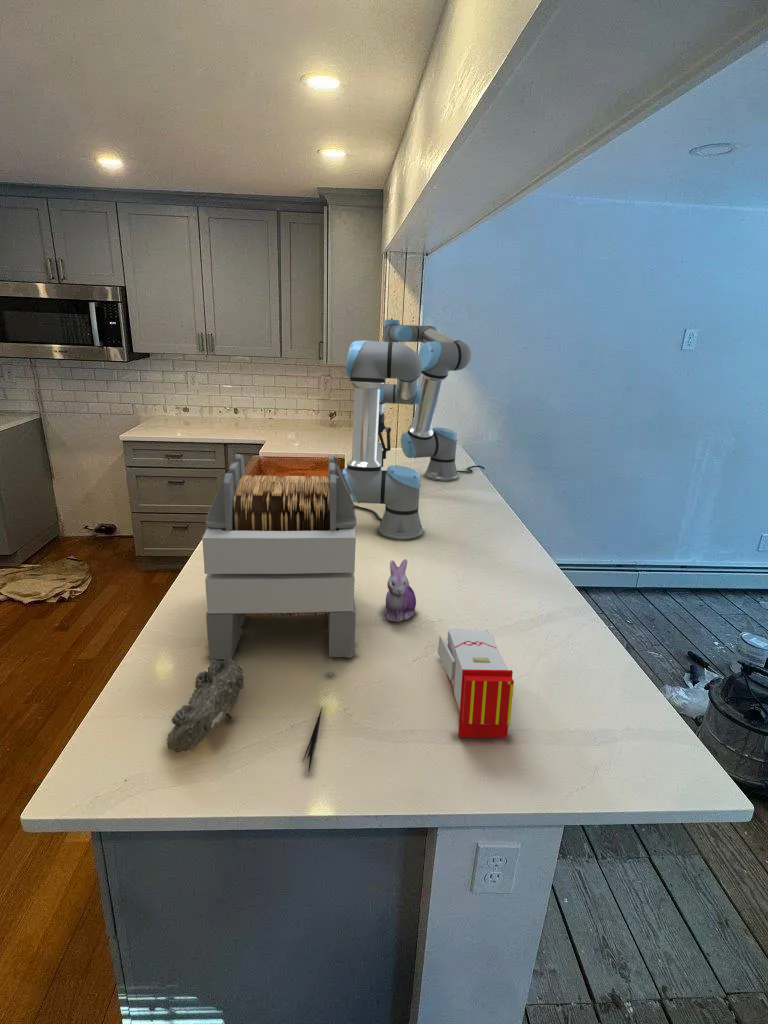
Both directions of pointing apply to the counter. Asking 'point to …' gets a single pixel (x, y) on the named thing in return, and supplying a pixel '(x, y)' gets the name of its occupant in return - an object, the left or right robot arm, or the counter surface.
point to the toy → (478, 682)
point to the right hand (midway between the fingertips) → (388, 396)
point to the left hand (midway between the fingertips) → (373, 466)
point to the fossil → (206, 705)
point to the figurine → (399, 594)
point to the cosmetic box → (379, 453)
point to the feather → (313, 740)
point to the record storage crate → (280, 554)
